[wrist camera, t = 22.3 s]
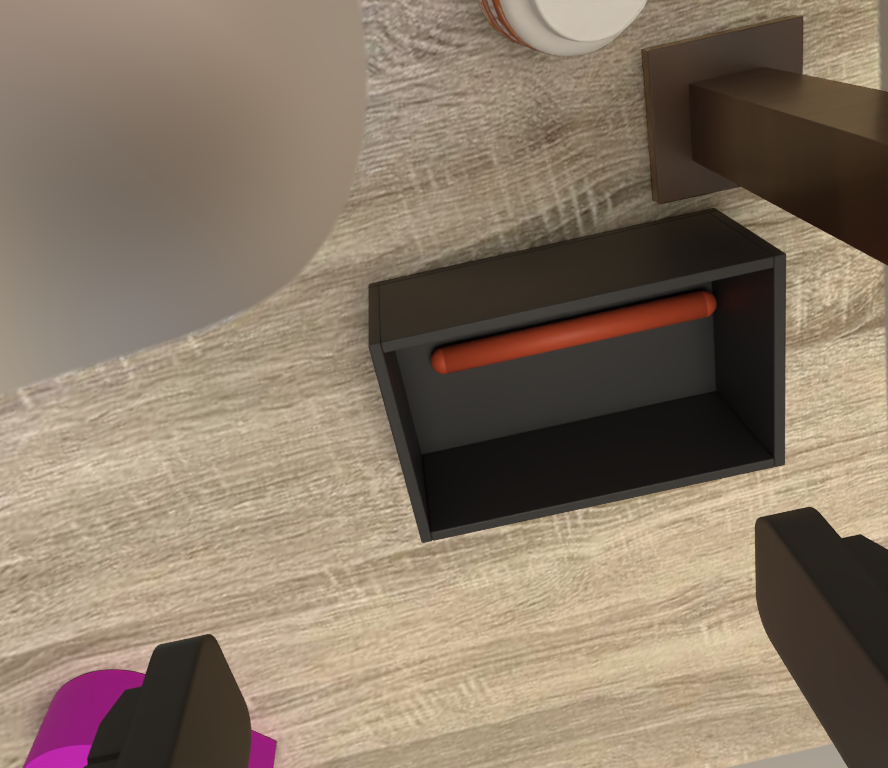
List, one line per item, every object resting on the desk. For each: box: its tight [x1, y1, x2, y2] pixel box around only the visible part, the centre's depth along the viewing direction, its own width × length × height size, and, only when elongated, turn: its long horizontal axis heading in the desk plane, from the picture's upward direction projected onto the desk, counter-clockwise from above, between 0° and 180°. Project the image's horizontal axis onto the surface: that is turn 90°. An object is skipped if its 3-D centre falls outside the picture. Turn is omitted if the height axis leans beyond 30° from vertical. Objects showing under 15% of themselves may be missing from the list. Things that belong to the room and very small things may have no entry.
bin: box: [369, 208, 786, 543], centre depth 44 cm, size 20×12×9 cm, turn 101°
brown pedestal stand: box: [642, 15, 888, 265], centre depth 27 cm, size 11×8×35 cm
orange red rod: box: [431, 290, 717, 374], centre depth 46 cm, size 17×2×2 cm
